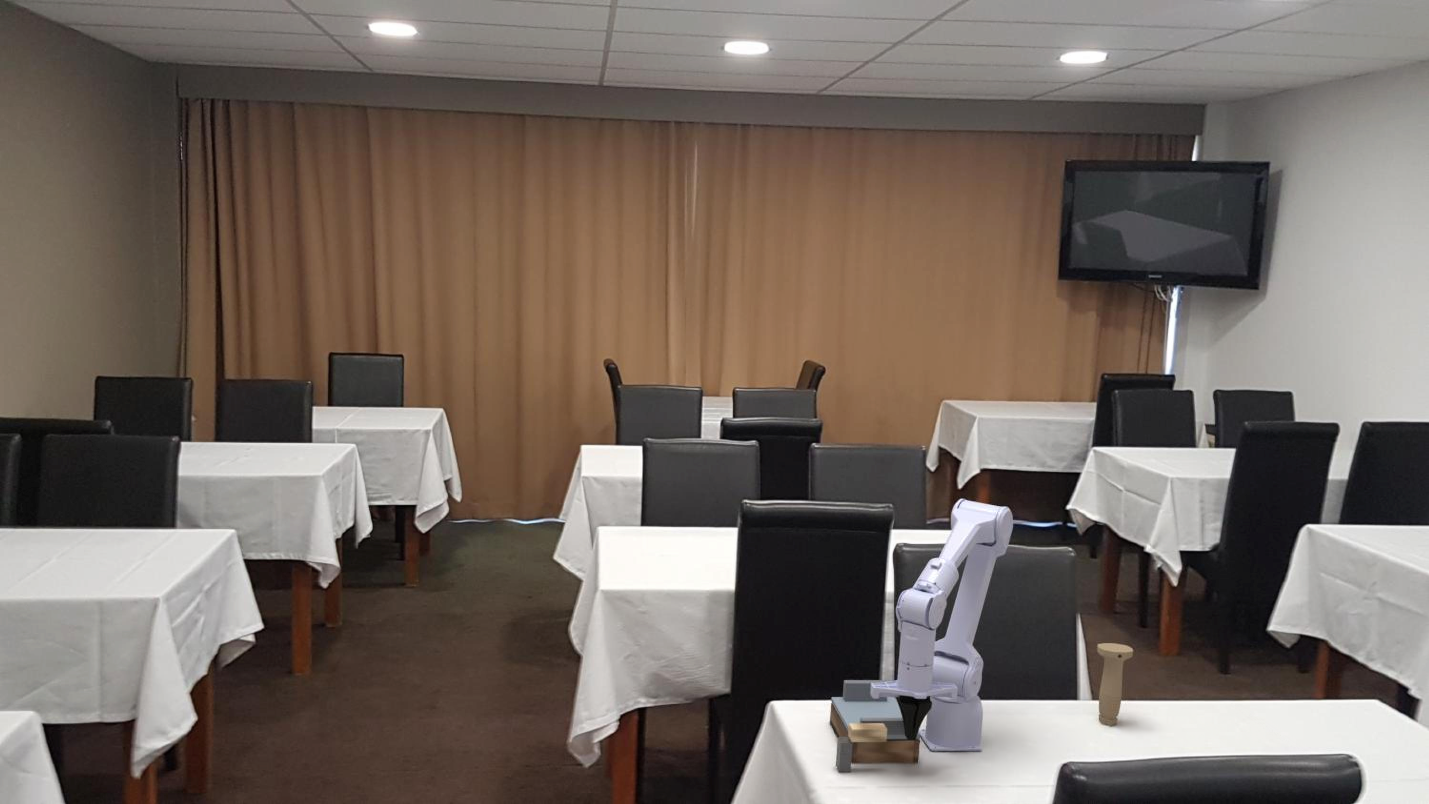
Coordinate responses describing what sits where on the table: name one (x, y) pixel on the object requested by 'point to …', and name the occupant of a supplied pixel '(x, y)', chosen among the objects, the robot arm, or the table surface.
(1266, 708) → the table surface
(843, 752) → the block
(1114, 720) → the handle
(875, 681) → the lid
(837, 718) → the brown wooden shallow box
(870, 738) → the tan wooden block
